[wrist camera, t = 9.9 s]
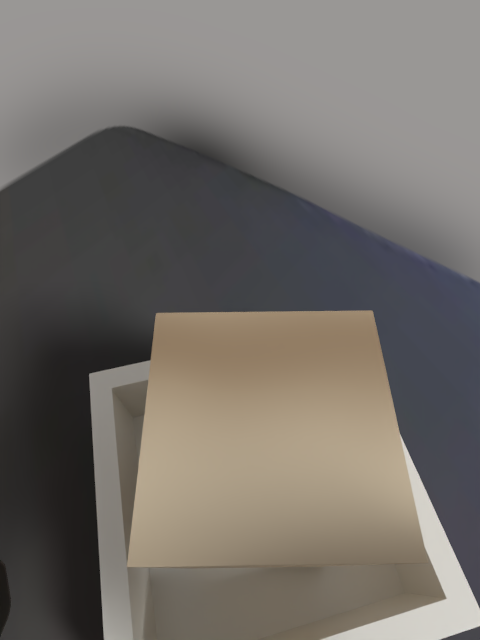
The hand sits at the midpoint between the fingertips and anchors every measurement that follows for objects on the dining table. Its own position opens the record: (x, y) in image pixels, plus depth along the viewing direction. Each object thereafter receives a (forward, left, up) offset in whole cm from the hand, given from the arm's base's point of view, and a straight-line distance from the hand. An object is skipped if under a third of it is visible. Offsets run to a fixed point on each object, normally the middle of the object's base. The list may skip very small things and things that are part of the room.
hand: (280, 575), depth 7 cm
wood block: (+3, -1, -10) cm, 10 cm away
